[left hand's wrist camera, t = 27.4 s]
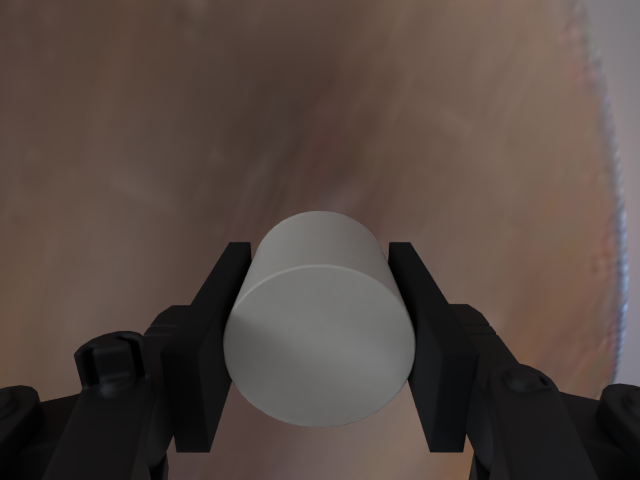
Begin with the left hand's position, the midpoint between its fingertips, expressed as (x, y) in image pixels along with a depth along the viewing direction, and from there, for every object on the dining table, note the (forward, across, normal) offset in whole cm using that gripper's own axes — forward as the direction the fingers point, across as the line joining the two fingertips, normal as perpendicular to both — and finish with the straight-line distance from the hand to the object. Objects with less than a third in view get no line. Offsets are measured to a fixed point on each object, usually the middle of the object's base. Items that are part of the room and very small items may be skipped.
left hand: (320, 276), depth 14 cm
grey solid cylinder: (0, 0, 0) cm, 0 cm away
